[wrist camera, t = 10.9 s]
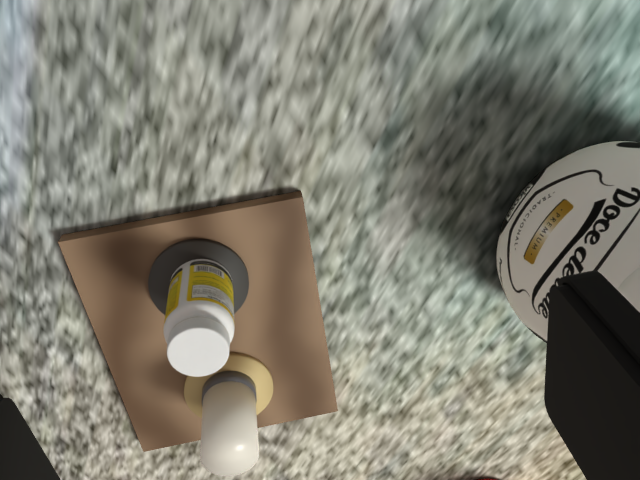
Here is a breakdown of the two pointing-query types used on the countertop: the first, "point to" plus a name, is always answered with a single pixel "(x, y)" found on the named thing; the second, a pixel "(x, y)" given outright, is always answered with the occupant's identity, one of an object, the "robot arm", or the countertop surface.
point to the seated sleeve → (229, 424)
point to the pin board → (249, 311)
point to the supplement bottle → (199, 318)
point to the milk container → (573, 229)
